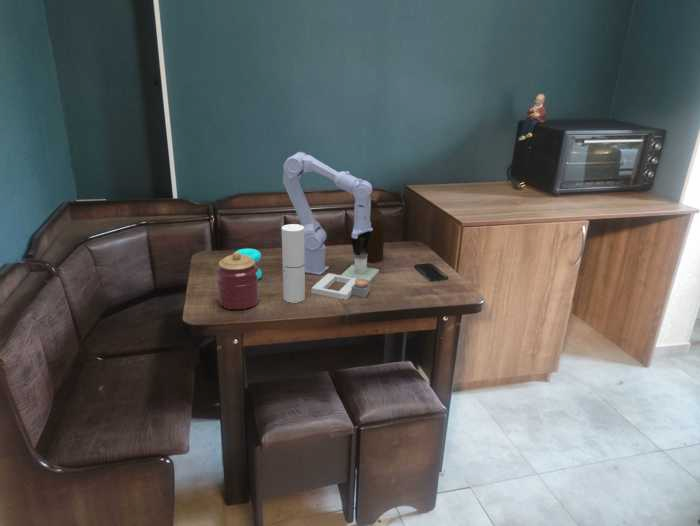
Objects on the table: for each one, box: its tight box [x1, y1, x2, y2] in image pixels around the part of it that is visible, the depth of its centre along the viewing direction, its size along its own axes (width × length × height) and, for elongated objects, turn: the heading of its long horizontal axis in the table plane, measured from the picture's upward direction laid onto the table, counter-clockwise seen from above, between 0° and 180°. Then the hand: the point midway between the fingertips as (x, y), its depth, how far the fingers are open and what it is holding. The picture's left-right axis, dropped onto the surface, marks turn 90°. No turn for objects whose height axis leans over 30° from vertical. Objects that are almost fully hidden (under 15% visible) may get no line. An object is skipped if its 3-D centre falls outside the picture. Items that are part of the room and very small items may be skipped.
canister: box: [216, 251, 260, 310], centre depth 171 cm, size 13×13×18 cm
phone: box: [413, 262, 449, 283], centre depth 201 cm, size 8×1×15 cm
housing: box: [310, 272, 371, 301], centre depth 184 cm, size 18×14×3 cm
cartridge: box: [354, 252, 368, 275], centre depth 196 cm, size 5×5×7 cm
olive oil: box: [361, 196, 387, 264], centre depth 208 cm, size 11×11×25 cm
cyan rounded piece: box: [235, 248, 263, 280], centre depth 191 cm, size 10×10×10 cm
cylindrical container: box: [281, 223, 306, 304], centre depth 173 cm, size 7×7×25 cm
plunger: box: [355, 279, 369, 288], centre depth 182 cm, size 4×4×4 cm
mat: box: [340, 264, 380, 284], centre depth 197 cm, size 11×11×1 cm
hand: (361, 251), depth 194 cm, fingers open, 7 cm apart
